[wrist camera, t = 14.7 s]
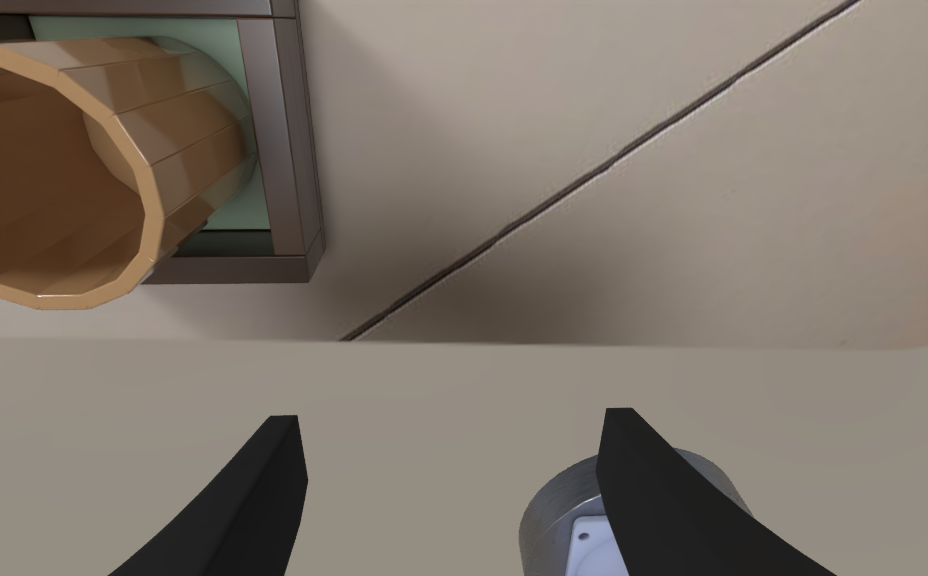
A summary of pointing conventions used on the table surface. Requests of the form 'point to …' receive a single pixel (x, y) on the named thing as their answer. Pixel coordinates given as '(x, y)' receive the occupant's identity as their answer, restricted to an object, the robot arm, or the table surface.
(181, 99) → the paper cup
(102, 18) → the cup holder
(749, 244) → the table surface
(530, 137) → the table surface
